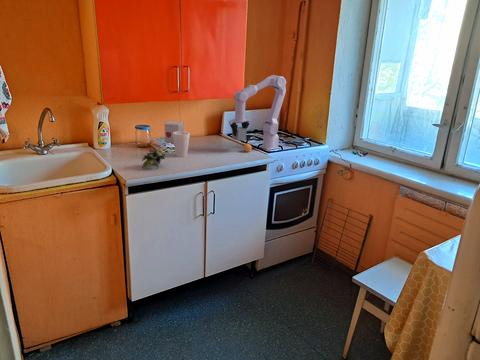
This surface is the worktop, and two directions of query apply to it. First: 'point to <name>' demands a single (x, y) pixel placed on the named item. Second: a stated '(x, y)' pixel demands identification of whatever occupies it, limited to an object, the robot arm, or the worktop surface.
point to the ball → (247, 147)
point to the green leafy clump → (153, 158)
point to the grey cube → (240, 134)
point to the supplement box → (172, 130)
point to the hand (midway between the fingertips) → (239, 135)
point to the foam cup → (181, 142)
